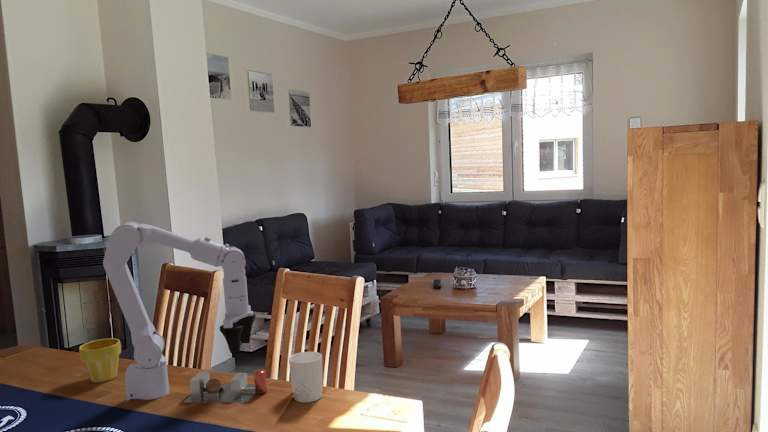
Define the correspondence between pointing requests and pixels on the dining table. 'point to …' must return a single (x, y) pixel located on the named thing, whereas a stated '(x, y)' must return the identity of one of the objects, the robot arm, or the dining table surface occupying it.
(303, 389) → the white cup
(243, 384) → the ram handle
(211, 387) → the nut
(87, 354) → the plant pot
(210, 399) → the bench
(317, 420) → the dining table surface
